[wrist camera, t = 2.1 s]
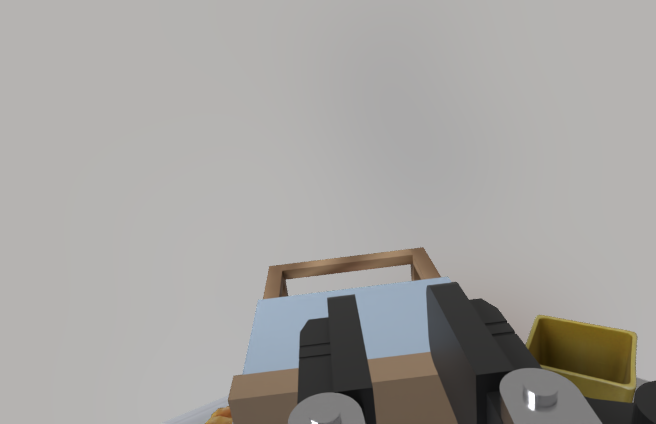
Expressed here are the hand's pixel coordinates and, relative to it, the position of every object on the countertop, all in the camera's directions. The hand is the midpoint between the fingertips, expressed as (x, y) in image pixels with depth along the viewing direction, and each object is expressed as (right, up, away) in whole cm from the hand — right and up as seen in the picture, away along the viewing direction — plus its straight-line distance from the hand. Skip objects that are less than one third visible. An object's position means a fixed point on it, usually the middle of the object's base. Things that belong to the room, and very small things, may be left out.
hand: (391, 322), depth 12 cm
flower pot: (+22, -18, +33) cm, 44 cm away
